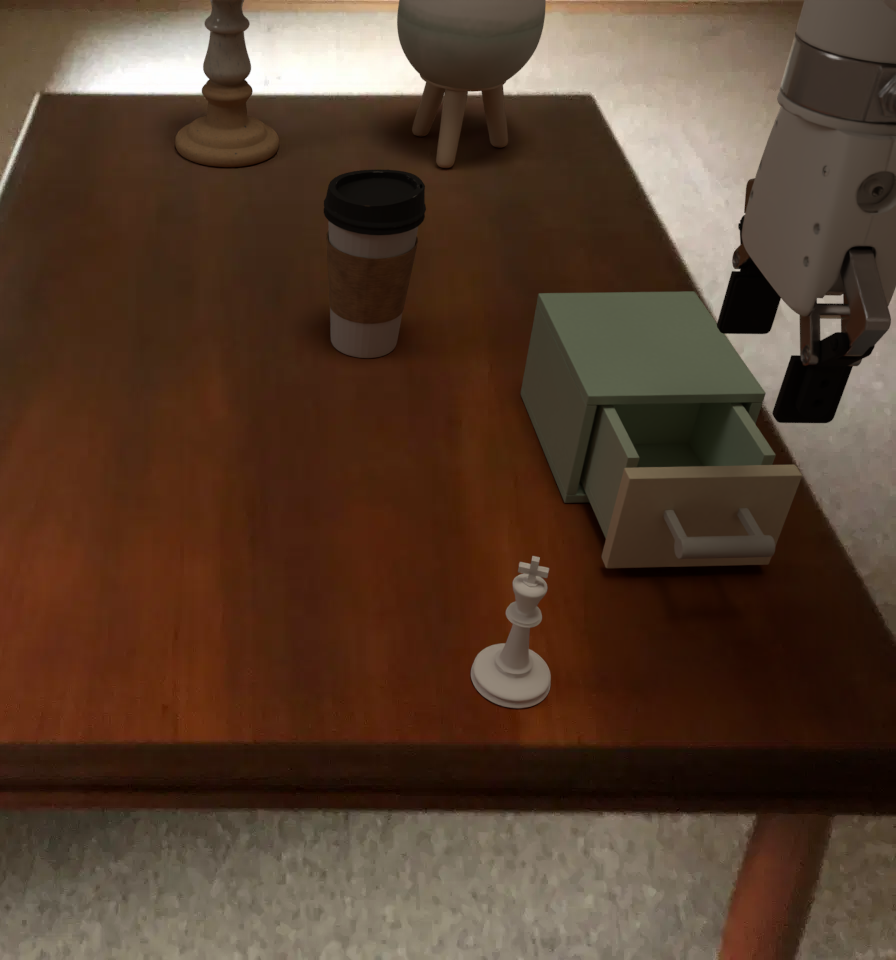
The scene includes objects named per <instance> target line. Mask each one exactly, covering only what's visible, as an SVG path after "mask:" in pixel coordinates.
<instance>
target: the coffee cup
mask: <svg viewBox="0 0 896 960" xmlns="http://www.w3.org/2000/svg"><path fill="white" fill-rule="evenodd" d="M425 190H426V185H425V182H424V181H423V180H422V179H421V178H420V177H419V176H417V175H416V174H414V173H411V172H408V171H404V170H396V169H362V170H354V171H348V172H345V173H341V174H338V175H337V176H335V177H333V178H332V179H331V180H330V181H329V183H328V187H327V191H326V194H325V198H324V200H323V215H324V217H325V219H326V220H327V222H328V230H327V232H326V257H327V258H326V260H327V280H328V281H327V282H328V300H329V302H328V303H329V322H330V323H329V324H330V325H329V327H330V342H331V345H332V346H333V347H334V349H336V350H337V351H338V352H339V353H342V354H344V355H347V356H348V357H349V356H350V357H353V358H359V359H374V358H380V357H383V356H386V355H388V354H390V353H391V352H393V351H394V349H395V348H396V346H397V344H398V339H399V333H400V328H401V323H402V317H403V312H404V309H405V304H406V300H407V295H408V291H409V286H410V281H411V276H412V273H413V268H414V266H413V265H414V263H415V258H416V254H417V248H418V243H419V238H418V230H419V226H421V225H422V223H423V222H424V220H425V218H426V211H427V206H426V203H425V202H426V201H425V200H426V199H425V198H426V197H425V196H426V195H425Z"/></svg>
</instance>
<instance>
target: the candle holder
mask: <svg viewBox="0 0 896 960" xmlns="http://www.w3.org/2000/svg"><path fill="white" fill-rule="evenodd" d="M209 1H210V5H211V12H210V14H209V16H207V18H205V20H204V27H205V28H206V29H207V30H208V31H209V40H208V45H207V49H206V54H205V56H204V61H203V63H202V69H203V70H202V71H203V74H204V76H206V78H207V79H208V80H207V81H206V82H205V84H203V86H202V87H201V94H202V96H203V97H204V98H205V100H206V101H207V110H206V114H205V115H202V116H199V117H197V118H196V119H194V120H193V121H191V122H190V123H188V124H186V125H184V126H182V127H181V128H180V129H179V130H178V132H177V133H176V135H175V139H174V145H175V148H176V151H177V152H178V153H179V155H180V156H181V157H183V158H184V159H186V160H188V161H191V162H192V163H196V164H200V165H204V166H209V167H216V168H240V167H247V166H252V165H256V164H259V163H263V162H265V161H267V160H269V159H271V158H272V157H274V156H275V155H276V153H277V152H278V150H279V147H280V138H279V135H278V134H277V132H276V131H275V130H274V129H273V128H272V127H271V126H269V125H268V124H266V123H263V121H261V120H260V119H259V118H256V117H254V116H251V115H248V108H247V101H249V99H250V98H251V97H252V95H253V87H252V86H251V84H249V82H248V81H247V80H246V79H247V78H248V77H249V76H250V74H251V71H252V63H251V59H250V56H249V53H248V49H247V45H246V39H245V31H247V30H248V29H249V27H250V21H249V19H248V17H246V16H245V15H244V11H243V5H244V3H245V0H209Z"/></svg>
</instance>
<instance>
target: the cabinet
mask: <svg viewBox="0 0 896 960" xmlns="http://www.w3.org/2000/svg"><path fill="white" fill-rule="evenodd" d="M533 316H534V317H533V322H532V328H531V333H530V339H529V344H528V350H527V355H526V361H525V365H524V366H525V367H524V370H523V371H524V372H523V377H522V384H521V389H520V397H521V399H522V401H523V404H524V407H525V409H526V411H527V414H528V417H529V419H530V421H531V424H532V426H533V428H534V431H535V434H536V437H537V439H538V441H539V444H540V446H541V448H542V451H543V454H544V456H545V459H546V461H547V463H548V466H549V468H550V471H551V473H552V476H553V479H554V480H555V483H556V484H557V488H558V490H559V493H560V496H561V498H562V500H563V502H564V504H580V503H581V504H582V503H583V504H588V503H589V504H590V501H589V499H588V497H587V494H586V492H585V490H584V487H583V485H582V483H581V480H580V477H581V472H582V468H583V464H584V460H585V455H586V451H587V447H588V442H589V438H590V434H591V429H592V425H593V421H594V416H595V412H596V408H597V405H616V404H677V403H738V402H741V403H742V405H743V406H744V408H745V409H746V411H747V412H748V414H749V415H750V417H751V418H752V420H753V421H754V423H755V424H757V420H758V418H759V415H760V412H761V409H762V405H763V403H764V400H765V397H766V395H767V394H766V391H765V390H764V388H763V387H762V386H761V384H760V382H759V381H758V380H757V378H756V377H755V376H754V374H753V372H752V371H751V370H750V368H749V367H748V365H747V364H746V362H744V360H743V358H742V357H741V356H740V354H739V352H738V351H737V350H736V348H735V347H734V345H733V344H732V343H731V340H729V339H728V337H727V335H726V334H723V333H721V332H720V331H719V329H718V328H717V322H716V320H715V318H714V317H713V316H712V314H711V313H710V311H709V310H708V308H707V307H706V306H705V304H704V303H703V301H702V299H701V298H700V297H699V295H698V294H697V293H696V291H633V292H632V291H625V292H624V291H622V292H620V291H618V292H616V291H615V292H611V291H609V292H539V293H538V294H537V300H536V306H535V312H534V315H533Z"/></svg>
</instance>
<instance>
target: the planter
mask: <svg viewBox="0 0 896 960" xmlns="http://www.w3.org/2000/svg"><path fill="white" fill-rule="evenodd" d="M546 2H547V1H546V0H398V5H397V15H396V16H397V17H396V27H397V35H398V41H399V44H400V47H401V49H402V51H403V53H404V56H405V57H406V59H407V61H408V62H409V64H410V66H412V68H413V69H414V71H416V72H417V73H418V74H419V76H420V78H421V79H422V81H424V82H425V84H424V87H423V91H422V94H421V98H420V102H419V104H418V108H417V111H416V113H415V117H414V120H413V123H412V127H411V131H412V134H413V135H414V136H416V137H425V136H427V135H428V134H429V133H430V131H431V128H432V126H433V123H434V121H435V118H436V115H437V114H438V111H439V109H440V106H441V104H442V111H441V116H440V117H441V118H440V125H439V134H438V142H437V147H436V158H435V163H436V165H437V166H438V167H440V168H441V169H449V168H452V167H453V166H454V164H455V161H456V157H457V153H458V146H459V142H460V136H461V131H462V127H463V123H464V122H463V121H464V117H465V112H466V106H467V101H468V95H469V93H470V92H473V93H474V92H481V98H482V105H483V109H484V115H485V121H486V126H487V132H488V136H489V142H490V144H491V146H493V147H494V148H498V149H500V148H504V147H506V146H507V145H508V143H509V135H508V133H509V132H508V124H507V123H508V122H507V115H506V114H507V113H506V104H505V103H506V102H505V92H504V85H505V84H506V82H507V81H508V80H510V79H511V78H513V77H514V76H515V75H517V73H519V71H521V70H522V69H523V68H524V67H525V65H526V64H527V63H528V62H529V61H530V59H531V58H532V56H533V55H534V53H535V52H536V50H537V48H538V45H539V44H540V41H541V38H542V35H543V29H544V25H545V20H546V19H545V17H546V6H547V5H546V4H547V3H546Z"/></svg>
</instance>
